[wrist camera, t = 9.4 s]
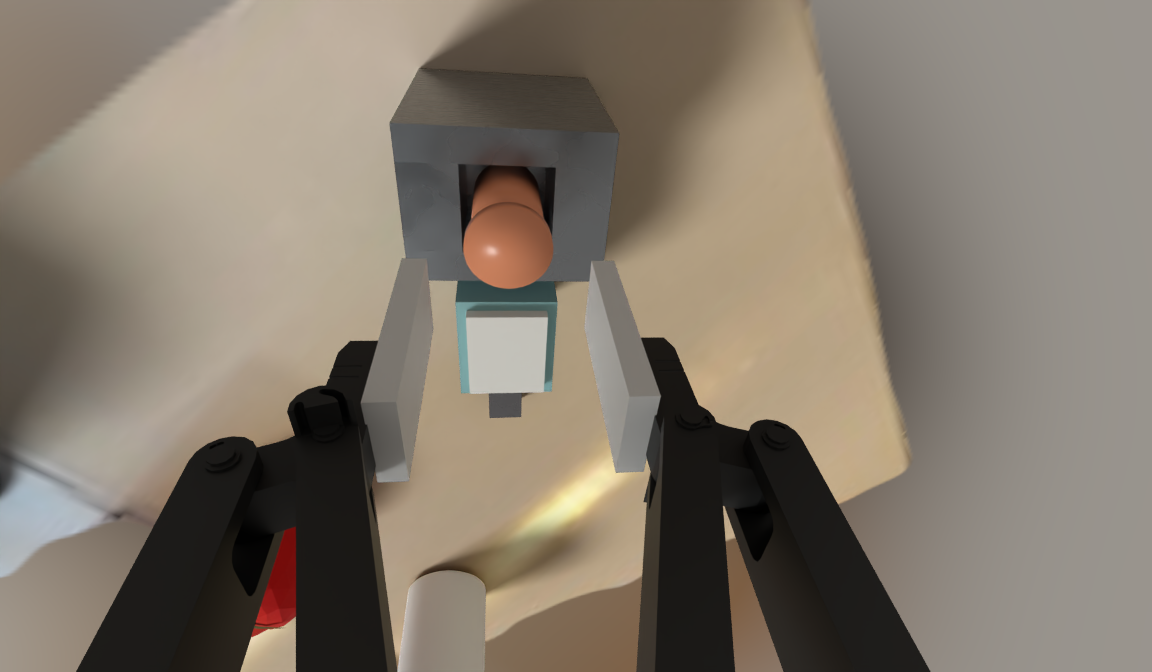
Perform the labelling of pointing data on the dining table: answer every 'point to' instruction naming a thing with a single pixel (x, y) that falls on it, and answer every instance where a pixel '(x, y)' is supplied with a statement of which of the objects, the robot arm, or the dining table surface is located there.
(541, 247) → the plunger
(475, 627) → the beverage can
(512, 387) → the block
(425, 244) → the grey box
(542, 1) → the dining table surface
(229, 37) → the dining table surface
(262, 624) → the tomato
